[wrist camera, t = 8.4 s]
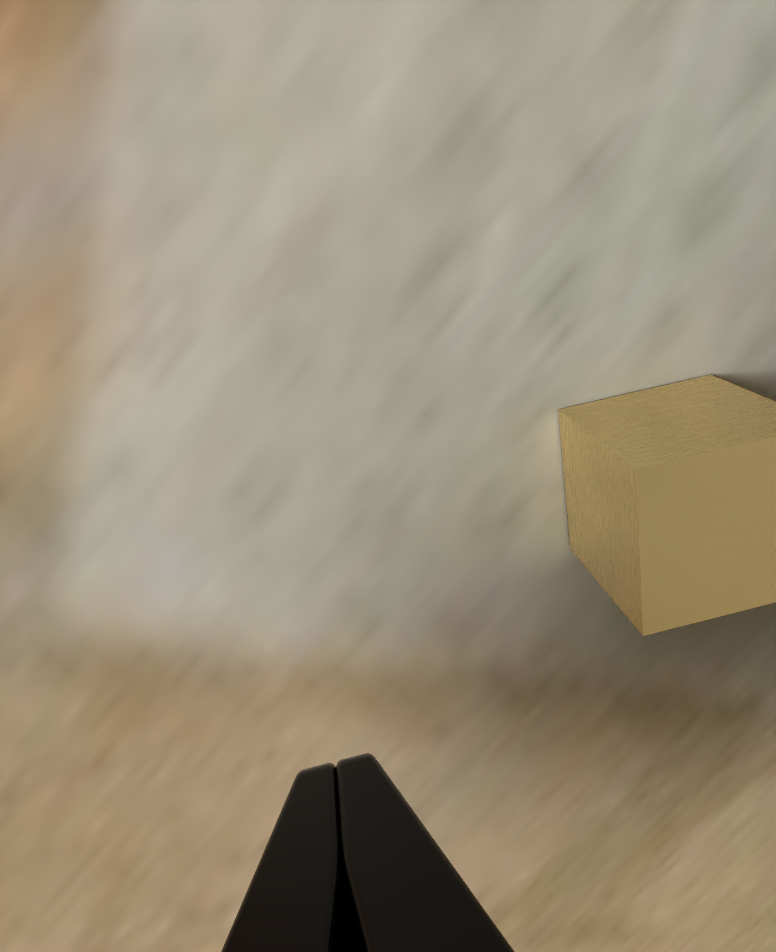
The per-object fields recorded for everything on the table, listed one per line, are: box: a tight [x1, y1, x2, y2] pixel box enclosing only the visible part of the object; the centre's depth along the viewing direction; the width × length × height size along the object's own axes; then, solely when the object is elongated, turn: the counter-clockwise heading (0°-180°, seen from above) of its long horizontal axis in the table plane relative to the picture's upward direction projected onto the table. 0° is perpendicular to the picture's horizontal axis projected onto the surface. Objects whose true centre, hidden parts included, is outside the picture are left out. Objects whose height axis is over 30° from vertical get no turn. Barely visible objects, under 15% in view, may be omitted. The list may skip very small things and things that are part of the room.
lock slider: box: [558, 375, 776, 636], centre depth 12 cm, size 3×3×3 cm
